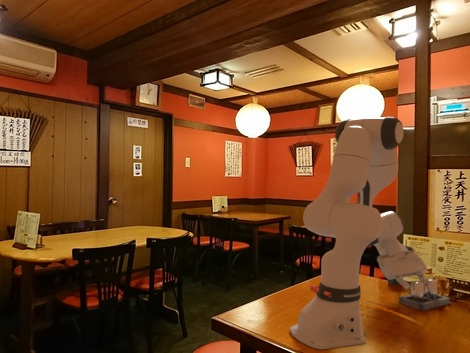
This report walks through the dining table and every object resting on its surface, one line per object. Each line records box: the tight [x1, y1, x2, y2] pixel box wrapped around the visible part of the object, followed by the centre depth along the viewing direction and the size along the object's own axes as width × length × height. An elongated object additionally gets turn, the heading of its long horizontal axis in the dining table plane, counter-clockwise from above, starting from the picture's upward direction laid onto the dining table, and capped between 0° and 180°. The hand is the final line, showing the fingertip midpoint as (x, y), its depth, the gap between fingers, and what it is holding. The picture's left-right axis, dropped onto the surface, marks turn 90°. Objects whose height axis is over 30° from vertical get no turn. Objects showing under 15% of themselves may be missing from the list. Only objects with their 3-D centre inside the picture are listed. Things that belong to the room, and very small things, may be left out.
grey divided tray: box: [398, 290, 451, 312], centre depth 125 cm, size 16×9×3 cm, turn 117°
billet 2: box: [424, 277, 438, 300], centre depth 127 cm, size 4×4×8 cm
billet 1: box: [410, 280, 425, 303], centre depth 124 cm, size 4×4×8 cm
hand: (416, 286), depth 124 cm, fingers open, 8 cm apart
